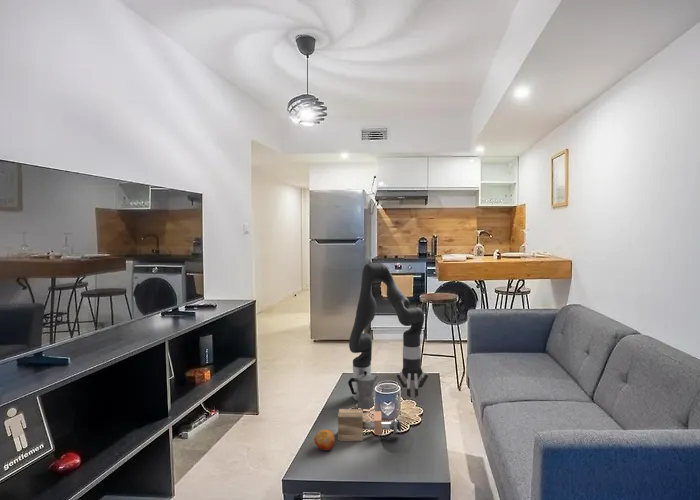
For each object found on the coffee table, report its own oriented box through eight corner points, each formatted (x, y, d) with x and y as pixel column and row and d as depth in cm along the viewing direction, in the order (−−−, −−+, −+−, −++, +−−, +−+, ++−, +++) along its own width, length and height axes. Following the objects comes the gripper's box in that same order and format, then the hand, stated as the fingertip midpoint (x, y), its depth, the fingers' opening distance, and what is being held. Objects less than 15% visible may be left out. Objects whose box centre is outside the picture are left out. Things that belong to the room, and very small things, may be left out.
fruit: (338, 438, 178) (335, 427, 174) (333, 457, 172) (330, 445, 168) (320, 436, 180) (316, 424, 176) (314, 454, 174) (310, 442, 170)
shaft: (358, 428, 186) (357, 416, 185) (400, 429, 185) (400, 416, 184) (357, 435, 180) (357, 422, 180) (401, 435, 179) (401, 422, 179)
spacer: (374, 425, 186) (374, 411, 185) (381, 425, 186) (381, 411, 185) (374, 434, 180) (374, 420, 178) (381, 434, 179) (381, 420, 178)
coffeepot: (375, 401, 218) (374, 366, 216) (382, 409, 209) (381, 372, 207) (346, 406, 213) (345, 370, 212) (351, 414, 204) (350, 376, 203)
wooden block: (339, 431, 187) (339, 408, 187) (363, 431, 187) (362, 408, 186) (338, 440, 179) (337, 417, 179) (362, 440, 179) (362, 417, 178)
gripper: (427, 353, 183) (427, 393, 184) (394, 353, 184) (395, 393, 185) (429, 358, 176) (430, 400, 177) (395, 358, 176) (396, 400, 177)
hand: (412, 396), depth 181 cm, fingers closed
